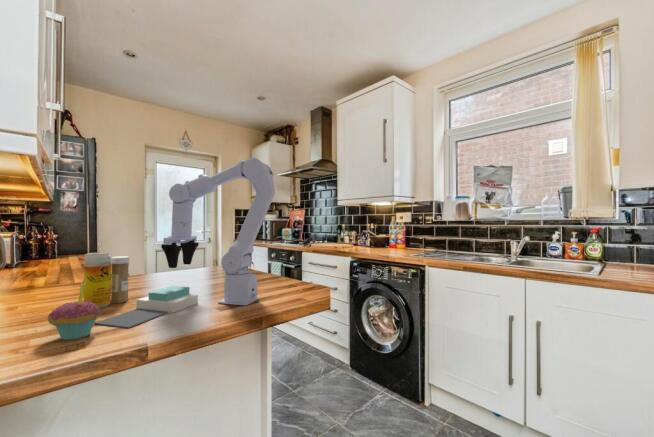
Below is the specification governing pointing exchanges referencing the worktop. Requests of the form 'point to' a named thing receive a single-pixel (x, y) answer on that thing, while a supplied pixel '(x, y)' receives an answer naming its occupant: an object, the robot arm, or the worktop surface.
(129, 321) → the mat
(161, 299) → the teal rectangular block
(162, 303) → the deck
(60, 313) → the cupcake
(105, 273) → the beer can
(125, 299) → the sprinkles bottle
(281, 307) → the worktop surface
